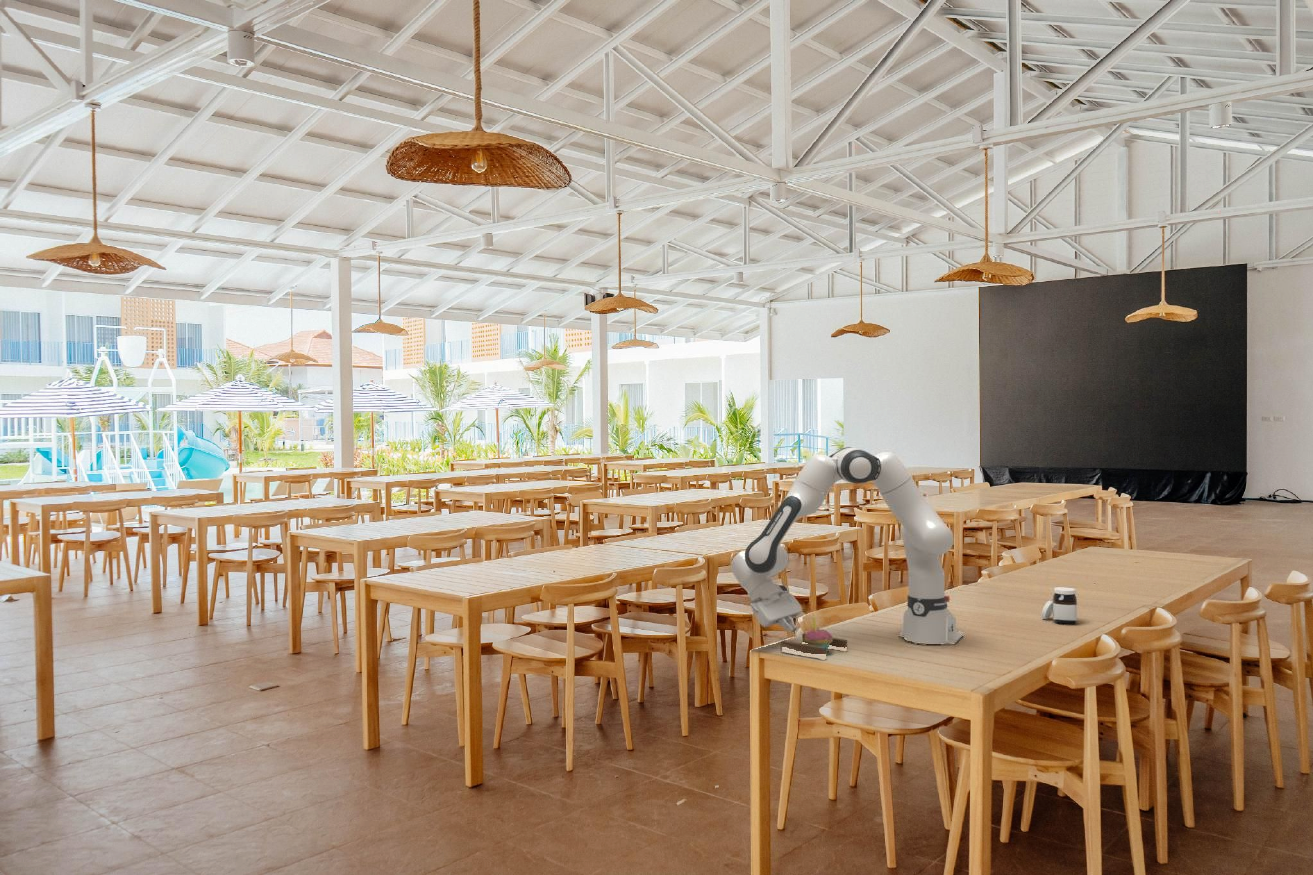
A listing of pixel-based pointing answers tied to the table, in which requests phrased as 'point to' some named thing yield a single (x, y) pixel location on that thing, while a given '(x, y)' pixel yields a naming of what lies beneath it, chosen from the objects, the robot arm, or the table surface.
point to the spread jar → (1062, 606)
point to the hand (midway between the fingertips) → (793, 631)
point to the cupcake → (818, 637)
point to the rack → (812, 646)
